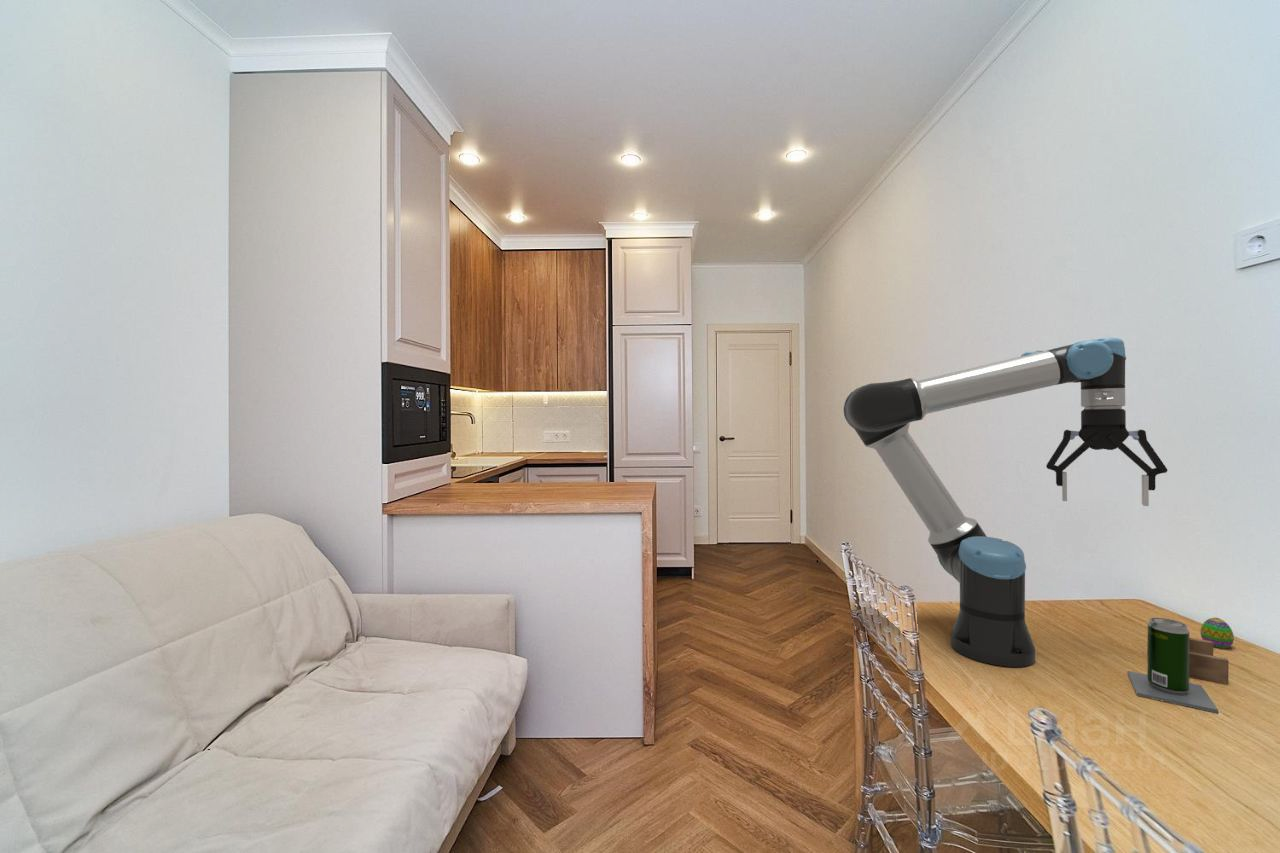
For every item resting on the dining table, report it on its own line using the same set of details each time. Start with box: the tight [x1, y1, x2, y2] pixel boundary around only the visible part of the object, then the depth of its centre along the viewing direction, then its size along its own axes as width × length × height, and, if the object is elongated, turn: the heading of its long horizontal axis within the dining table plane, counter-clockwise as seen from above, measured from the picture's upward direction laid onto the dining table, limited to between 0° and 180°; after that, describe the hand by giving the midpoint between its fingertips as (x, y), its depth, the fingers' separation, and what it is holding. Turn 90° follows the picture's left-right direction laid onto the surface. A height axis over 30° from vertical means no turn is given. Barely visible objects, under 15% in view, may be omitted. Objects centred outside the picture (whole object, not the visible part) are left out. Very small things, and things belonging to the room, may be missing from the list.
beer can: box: [1146, 617, 1190, 695], centre depth 96 cm, size 5×5×12 cm
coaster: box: [1127, 670, 1219, 714], centre depth 95 cm, size 10×10×1 cm
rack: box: [1189, 637, 1230, 685], centre depth 105 cm, size 9×10×4 cm
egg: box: [1200, 617, 1235, 649], centre depth 115 cm, size 5×5×6 cm
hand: (1103, 502), depth 118 cm, fingers open, 13 cm apart
